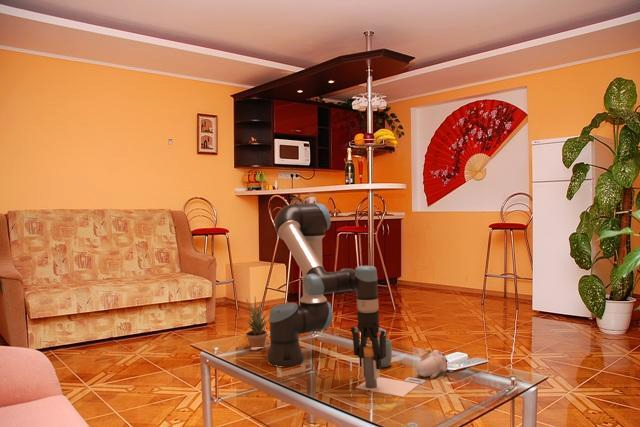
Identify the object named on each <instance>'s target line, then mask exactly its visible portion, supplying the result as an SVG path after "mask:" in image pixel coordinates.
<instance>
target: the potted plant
mask: <svg viewBox="0 0 640 427" xmlns="http://www.w3.org/2000/svg"><path fill="white" fill-rule="evenodd" d="M246 303H247V305H248V308H249V310H250V312H251V314H250V312H249V311H246V312H247V314H248V315H249V317H250V319H249V318H248V320H247V321H246V322H247V324H248V327H249V328H250V329H251V330H250V331H247V332H246V333H245V335H246V336H245V337H246V339H247V341H248V345H249V347H250V346H251V347H264V348H265V345H266V340H267V337H268V331H267V330H265V329H264V328H265V327H266V324H267V322H268V321H267V320H266V319H265V318H266V314H265V315H264V316H263V317H262V315H263V309H262V302H260V303H259V308H258V310H257V301H256V297H254V307H252V306H251V304H250V302H249V301H248V298H246ZM253 308H254V309H253ZM251 347H250V348H251Z"/></svg>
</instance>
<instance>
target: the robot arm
mask: <svg viewBox="0 0 640 427" xmlns="http://www.w3.org/2000/svg"><path fill="white" fill-rule="evenodd" d="M274 218H275V219H274V230H275V232H276V235H277V236H278V238H279V239H280V240H283V242H284V243H285V244H286V246H287V249H288V250H289V252H290V253H291V255H292V256H293V258H294V260H295V262H296V264H297V266H298V268H300V270H301V272H302V273H301V274H302V296H301V297H300V299H299V305H298V304H297V303H296V302H284V303H280V304H279V303H278V304H276V305H274V306H272V308H270V310H269V319H268V321H269V335H270V336H269V338H270V345H269V348H268V352H267V356H266V362H267V361H268V362H269V363H270V364H272V365H277V366H290V367H294V365H295V366H298V365H301V364H302V363H304V361H305V356H304V353H303V351H302V347H301V345H300V340H299V335H301V334H307V333H315V332H321V331H323V330H327V329H329V327H330V326H331V325H332V322H333V318H334V312H333V309H332V304H331V303H330V302H329V301H328V299H327V297H326V296H325V295H326V294H334V293H335V294H336V293H342V292H349V291H350V292H351V291H352V292H355V294H356V295H355V296H356V310H357V312H356V314H357V315H356V316H357V317H356V318H357V325H355V326H353V327H351V328H350V331H351V334H352V341H353V342H352V343H353V344H352V345H353V355H354V356H357V357H358V361H359V367H360V368H361V377H362V378H365V363H364V348H363V347H364V346H366V345H368V344H367V343H368V338H369V340H370V342H371V345H372V347H373V351H374V356H375V359H374V360H373V367H374V379H377V378H379V377H380V370H381V369H382V367H381V359H383V358H385V357H386V339H387V334H388V330H387V329H383V328H382V327H381V326H380V313H379V307H380V306H379V289H378V288H379V285H378V279H379V278H378V272H377V270H378V269H377V268H376V266H374V265H359V266H356V267H355V269H353V268H341V269H340V270H337V271H326V270H325V267H324V266H323V265H324V264H323V238H324V237H325V236H326V231H328V230H329V229H330V227H331V223H332V222H331V220H332V219H331V215H330V211H329V209H328V208H327V206H325V205H324V204H323V203H319V202H317V203H316V202H308V203H296V204H295V203H291V204H287V205H285V206H283V207H281V208H280V210H279V211H278V212H277V214H276V215H275V217H274ZM378 335H379V336H378ZM378 338H379V344H380V348H379V344H378Z"/></svg>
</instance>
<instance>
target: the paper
mask: <svg viewBox="0 0 640 427" xmlns="http://www.w3.org/2000/svg"><path fill="white" fill-rule="evenodd" d="M419 385H420V384H417V383H412V382H406V381H403V380H397V379H394V378H393V379H391V378H387V377H382V376H381V377H379V378H377V387H376V388H366V385H365V381H364V382H362V383H361V384H359V385H357V386H356V387H355V389H358V390H362V391H368V390H370V391H369V392H374V393H379V394H385V395H389V396H394V397H399V398H404V397H406V396H407V395H409V393H411V392H412V391H414V390H415V389H416V388H417V387H419Z"/></svg>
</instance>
